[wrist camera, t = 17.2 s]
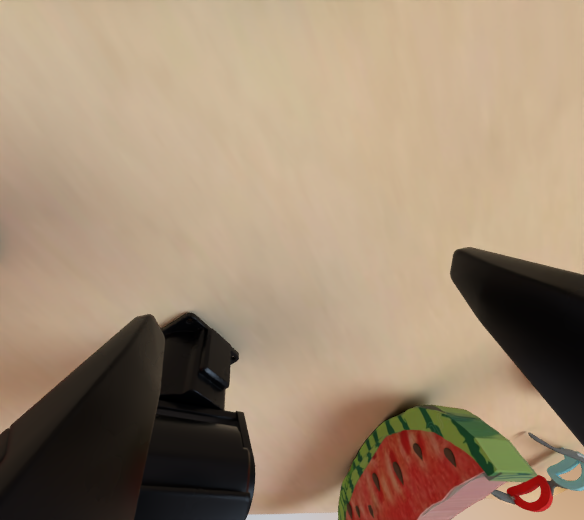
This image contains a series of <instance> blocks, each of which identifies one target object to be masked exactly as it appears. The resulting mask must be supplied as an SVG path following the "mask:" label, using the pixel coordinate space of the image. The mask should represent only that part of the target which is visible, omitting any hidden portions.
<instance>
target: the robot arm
mask: <svg viewBox="0 0 584 520" xmlns="http://www.w3.org/2000/svg"><path fill="white" fill-rule="evenodd" d="M450 275H451V279H452V281H453V282H454V284H455V285H456V287H457V288H458V290H459V291H460V293H461V294H462V296H463V297H464V299H465V300H466V302H467V303H468V305H469V306H470V308H471V309H472V311H473V312H474V314H475V315H476V317H477V318H478V319H479V321H480V322H481V323H482V324H483V326H484V327H485V328H486V329H487V331H488V332H489V333H490V334H491V335H492V337H493V338H494V339H495V340H496V341H497V343H498V344H499V345H500V346H501V347H502V349H503V350H504V351H505V352H506V353H507V355H508V356H509V357H510V358H511V359H512V361H513V362H514V363H515V364H516V365H517V367H518V368H519V369H520V370H521V371H522V373H523V374H524V375H525V376H526V378H527V379H528V380H529V381H530V382H531V384H532V385H533V386H534V387H535V388H536V390H537V391H538V392H539V393H540V394H541V396H542V397H543V398H544V399H545V400H546V402H547V403H548V404H549V405H550V406H551V408H552V409H553V410H554V411H555V412H556V414H557V415H558V416H559V417H560V418H561V420H562V421H563V422H564V423H565V424H566V426H567V427H568V428H569V429H570V430H571V432H572V433H573V434H574V435H575V436H576V438H577V439H578V440H579V441H580V442H581V444H582V445H583V446H584V275H582V274H578V273H574V272H570V271H566V270H562V269H558V268H554V267H550V266H546V265H541V264H537V263H533V262H529V261H525V260H521V259H517V258H513V257H509V256H505V255H501V254H497V253H492V252H488V251H484V250H480V249H476V248H472V247H467V248H462V249H457V250H456V251H455V252H454V254H453V259H452V265H451V271H450ZM188 319H192V320H188ZM232 356H234V357H232ZM238 359H239V353H238V352H237V351H236V350H235V349H234V348H232V347H231V345H230V344H229V343H228V342H227V341H226V340H225V339H224V338H222V337H221V336H220V335H219V334H218V333H217V332H216V331H215V330H213V329H212V328H210V327H209V326H208V325H206V324H205V323H204V322H203V321H202V320H201V319H200V318H199V317H197V316H196V315H195V314H193V313H187V314H185V315H183V316H181V317H180V318H178V319H177V320H175V321H173V322H172V323H170V324H169V325H167V326H165V327H164V328H162V329H160V327H159V325H158V323H157V321H156V319H155V318H154V316H153V315H151V314H148V315H143V316H138V317H136V318H134V319H133V320H132V321H131V322H130V323H129V324H127V325H126V326H125V327H124V328H123V329H122V330H120V331H119V332H118V333H117V334H116V335H115V336H113V337H112V338H111V339H110V340H109V341H108V342H107V343H105V344H104V345H103V346H102V347H101V348H100V349H98V350H97V351H96V352H95V353H94V354H93V355H92V356H90V357H89V358H88V359H87V360H86V361H85V362H83V363H82V364H81V365H80V366H79V367H78V368H76V369H75V370H74V371H73V372H72V373H71V374H70V375H68V376H67V377H66V378H65V379H64V380H63V381H61V382H60V383H59V384H58V385H57V386H56V387H54V388H53V389H52V390H51V391H50V392H49V393H48V394H46V395H45V396H44V397H43V398H42V399H41V400H39V401H38V402H37V403H36V404H35V405H34V406H33V407H31V408H30V409H29V410H28V411H27V412H26V413H24V414H23V415H22V416H21V417H20V418H19V419H17V420H16V421H15V422H14V423H13V424H12V425H11V426H10V428H8V429H6V430H5V431H3V432H2V433H1V434H0V520H245V519H246V517H247V515H248V513H249V509H250V506H251V503H252V498H253V493H254V485H255V463H254V457H253V452H252V448H251V443H250V439H249V434H248V430H247V425H246V421H245V416H244V413H243V412H238V411H236V412H230V411H224V406H225V389H227V388H228V387H229V382H230V365H231V364H233V363H234V362H236V361H237V360H238Z"/></svg>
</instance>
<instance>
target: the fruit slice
mask: <svg viewBox="0 0 584 520" xmlns="http://www.w3.org/2000/svg"><path fill="white" fill-rule="evenodd" d="M536 476H538V475H537V474H536V473H535V471H534V470H533V469H532V468H531V467H530V465H529V464H528V463H527V462H526V461H525V460H524V459H523V457H522V456H521V455H520V454H519V452H518V451H517V450H516V449H515V447H514V446H513V445H512V443H511V442H510V441H509V440H508V439H506V438H505V437H504V436H502V435H501V434H500V433H499V432H498V431H496V430H495V429H493V428H492V427H490V426H489V425H488V424H486V423H485V422H484V421H482V420H481V419H480V418H479V417H477V416H476V415H473V414H472V413H470V412H469V411H467V410H464V409H458V408H450V407H443V406H436V405H418V406H415V407H414V408H410V409H408V410H407V411H405V412H403V413H401V414H399V415H398V416H396V417H393V418H391V419H389V420H386V421H384V422H383V423H382V424H381V425H380V426H379V427H378V428H376V430H375V431H374V432H373V433H372V434H371V435H370V437H369V438H368V439H367V440H366V441H365V443H364V444H363V446H362V447H361V449H360V450H359V452H358V455H357V457H356V458H355V459H354V461H353V463H352V465H351V467H350V469H349V471H348V474H347V476H346V477H345V479H344V481H343V483H342V486H341V491H340V499H339V506H338V520H451V519H452V518H453V517H455V516H456V515H457V514H459V513H460V512H462V511H463V510H465V509H466V508H468V507H470V506H471V505H473V504H474V503H476V502H478V501H480V500H482V499H484V498H485V497H486V496H488V495H489V494H490V493H492V492H493V491H494V490H495V489H497V488H498V487H499V486H501V485H503V484H504V483H506V482H526V481H528V480H530V479H532V478H534V477H536Z"/></svg>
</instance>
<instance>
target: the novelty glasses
mask: <svg viewBox="0 0 584 520" xmlns="http://www.w3.org/2000/svg"><path fill="white" fill-rule="evenodd" d="M528 434H529V436H530V437H531V438H533V439H534V440H535V441H537V442H539V443H541V444H542V445H544V446H546V447H548V448H550V449H552V450H554V451H556V452H558V453H561V454H563V455H564V457H565V459H564V460H562V461H561V462H559V463H558V464H555V465H553V466H550V467H549V468H548V469H547V472H548V474H549V476H550V477H551V478H552V480H551V481H547V480H546V479H545V478H544V477H542V476H540V475H538V476H536V477H534V478H532V479H530V480H528V481H526V482H523V483H522V484H519V485H517V486H513V487H510V488H508V489H507V494H506V493H503V492H501V491H498V490H494V491H493V492H492V493H491V494H493V495H494V496H495V497H497V498H498V499H500V500H503V501H506V502H509V503H512V504H516V505H518V506H519V507H521V508H523V509H526V510H529V511H533V512H541V511H544V510H546V509H548V508H549V507H550V505H551V503H552V500H553V492H554V488H555V487H557V486H558V487H561V488H566V489H570V490H575V491H582V490H584V455H583V454H581V453H579V452H577V451H572V450H569V449H564V448H554V447H552V446H550V445H549V444H547V443H546V442H544V441H542V440H541V439H539V438H538V437H536V436H535V435H533V434H531V433H528ZM579 463H580V464H581V468H582V474H581V476H580V477H579V478H578V479H577V480H575V481H566V480H564V479H562V478H561V477H560V476H558V475H560V474H563V473H566V472H568V471H570V470H572V469H573V468H575V467H576V466H577V465H578V464H579ZM539 486H540V488H541V495H540V498H539V499H538V500H537V501H535V502H532V503H528V502H526V501H524V500H522V499H521V498H520V497H519V495H523V494H527V493H529V492H532V491H533V490H535V489H536V488H538V487H539Z"/></svg>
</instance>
